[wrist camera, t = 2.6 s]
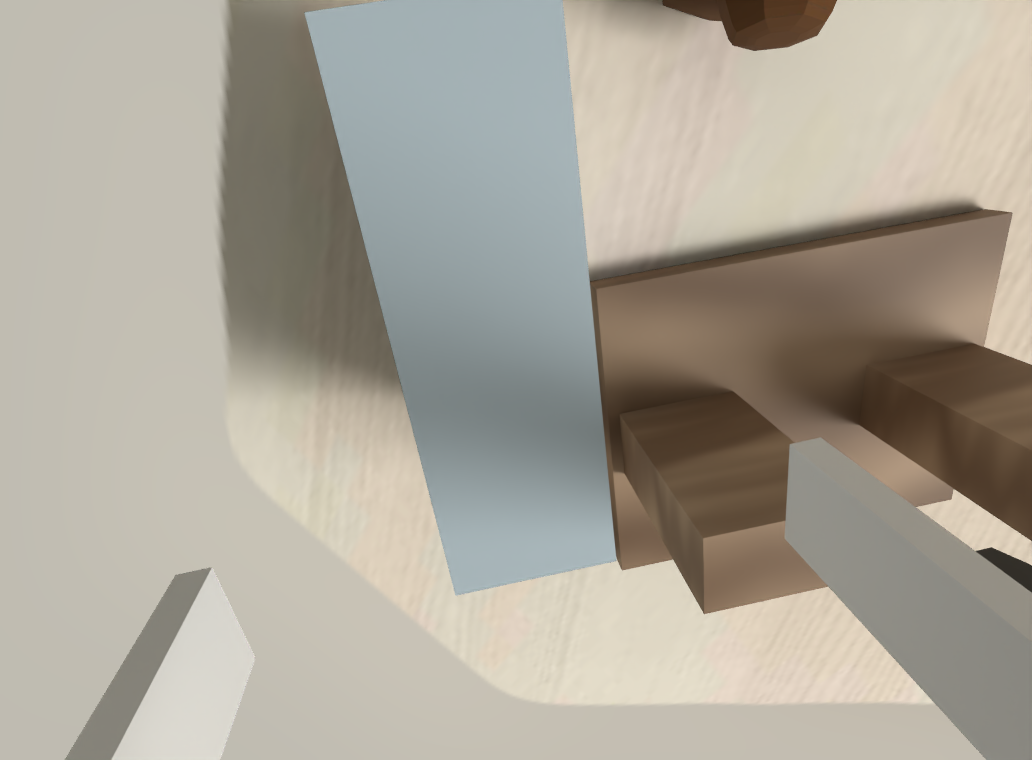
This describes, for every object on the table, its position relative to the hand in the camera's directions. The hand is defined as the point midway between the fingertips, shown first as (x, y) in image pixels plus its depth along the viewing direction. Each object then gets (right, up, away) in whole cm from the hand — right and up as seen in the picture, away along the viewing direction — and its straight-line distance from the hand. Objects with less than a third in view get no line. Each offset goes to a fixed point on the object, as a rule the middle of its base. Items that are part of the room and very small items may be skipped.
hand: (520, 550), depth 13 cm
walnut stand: (+12, +3, +13) cm, 18 cm away
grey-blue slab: (-2, +9, +8) cm, 12 cm away
